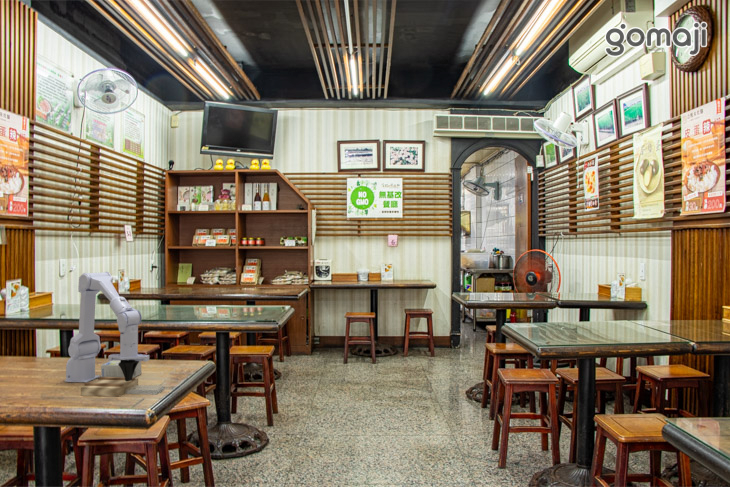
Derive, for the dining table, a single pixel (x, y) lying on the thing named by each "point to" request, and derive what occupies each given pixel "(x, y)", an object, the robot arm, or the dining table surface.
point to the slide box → (107, 386)
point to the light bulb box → (116, 369)
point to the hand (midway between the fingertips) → (128, 380)
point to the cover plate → (144, 389)
